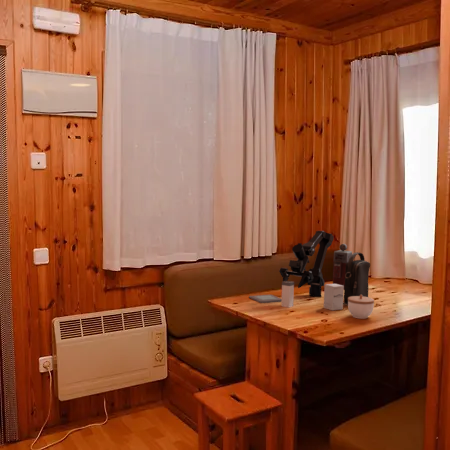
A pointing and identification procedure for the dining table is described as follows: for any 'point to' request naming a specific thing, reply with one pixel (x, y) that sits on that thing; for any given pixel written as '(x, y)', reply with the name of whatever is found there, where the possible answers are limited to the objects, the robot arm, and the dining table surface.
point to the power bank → (287, 293)
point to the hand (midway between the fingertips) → (290, 286)
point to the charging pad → (266, 298)
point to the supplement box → (333, 296)
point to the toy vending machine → (340, 264)
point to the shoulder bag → (356, 277)
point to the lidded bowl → (360, 306)
